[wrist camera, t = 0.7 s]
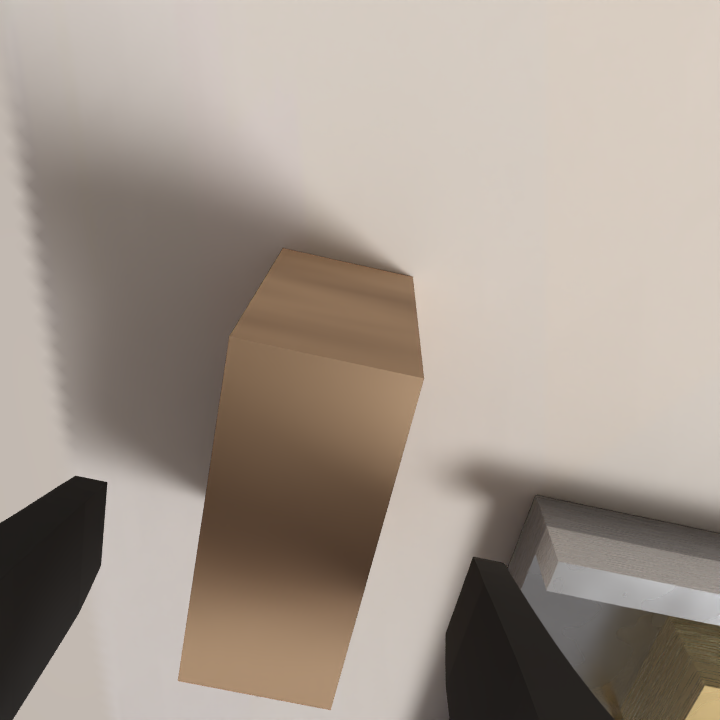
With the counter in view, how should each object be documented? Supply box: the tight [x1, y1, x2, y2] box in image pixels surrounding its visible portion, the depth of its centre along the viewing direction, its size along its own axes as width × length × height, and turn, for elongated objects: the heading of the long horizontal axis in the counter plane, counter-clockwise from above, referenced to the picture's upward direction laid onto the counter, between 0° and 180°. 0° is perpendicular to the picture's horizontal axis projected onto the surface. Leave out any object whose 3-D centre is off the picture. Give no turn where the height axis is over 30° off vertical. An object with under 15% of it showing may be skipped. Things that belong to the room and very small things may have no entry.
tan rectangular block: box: [178, 248, 424, 710], centre depth 16 cm, size 8×4×6 cm, turn 168°
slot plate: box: [449, 495, 720, 720], centre depth 22 cm, size 13×10×3 cm
